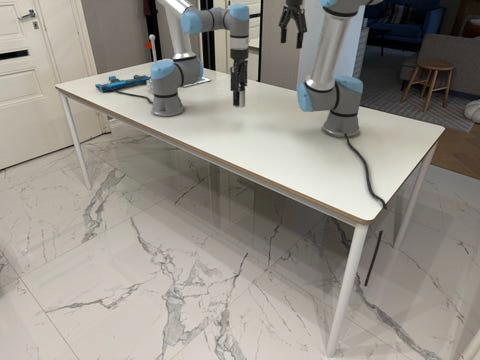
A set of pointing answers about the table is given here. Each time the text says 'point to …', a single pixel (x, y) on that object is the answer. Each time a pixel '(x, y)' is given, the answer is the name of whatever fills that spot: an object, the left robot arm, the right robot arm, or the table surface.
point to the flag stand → (152, 46)
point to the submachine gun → (122, 82)
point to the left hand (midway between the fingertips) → (239, 103)
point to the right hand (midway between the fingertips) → (290, 45)
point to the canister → (241, 98)
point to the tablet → (199, 81)
